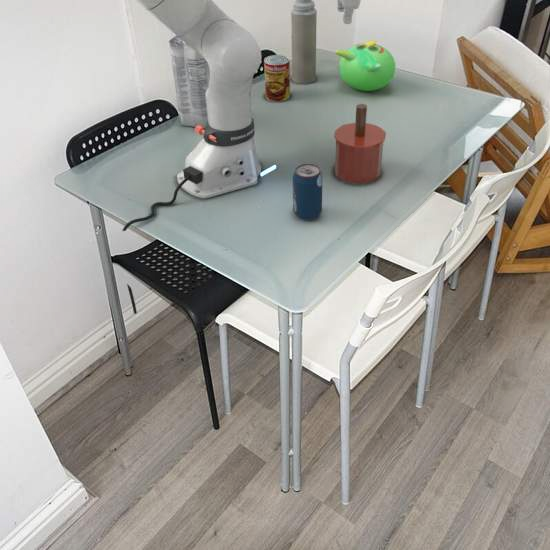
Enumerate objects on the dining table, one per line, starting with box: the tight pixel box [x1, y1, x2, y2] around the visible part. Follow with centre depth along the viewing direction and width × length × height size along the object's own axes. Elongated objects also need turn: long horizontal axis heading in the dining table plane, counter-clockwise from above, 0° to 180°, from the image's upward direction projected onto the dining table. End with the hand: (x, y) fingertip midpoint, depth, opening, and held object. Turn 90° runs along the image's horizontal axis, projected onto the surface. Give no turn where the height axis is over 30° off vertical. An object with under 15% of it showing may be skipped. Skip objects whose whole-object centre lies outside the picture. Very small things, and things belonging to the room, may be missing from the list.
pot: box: [334, 140, 384, 184], centre depth 159 cm, size 12×12×10 cm
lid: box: [333, 103, 387, 149], centre depth 154 cm, size 13×13×9 cm
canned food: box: [263, 54, 291, 103], centre depth 196 cm, size 8×8×12 cm
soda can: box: [292, 163, 324, 221], centre depth 145 cm, size 7×7×12 cm
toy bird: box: [334, 39, 396, 92], centre depth 198 cm, size 18×17×15 cm
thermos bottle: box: [290, 0, 318, 85], centre depth 201 cm, size 8×8×28 cm
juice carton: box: [168, 34, 210, 128], centre depth 179 cm, size 9×10×27 cm
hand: (344, 16), depth 154 cm, fingers open, 8 cm apart
